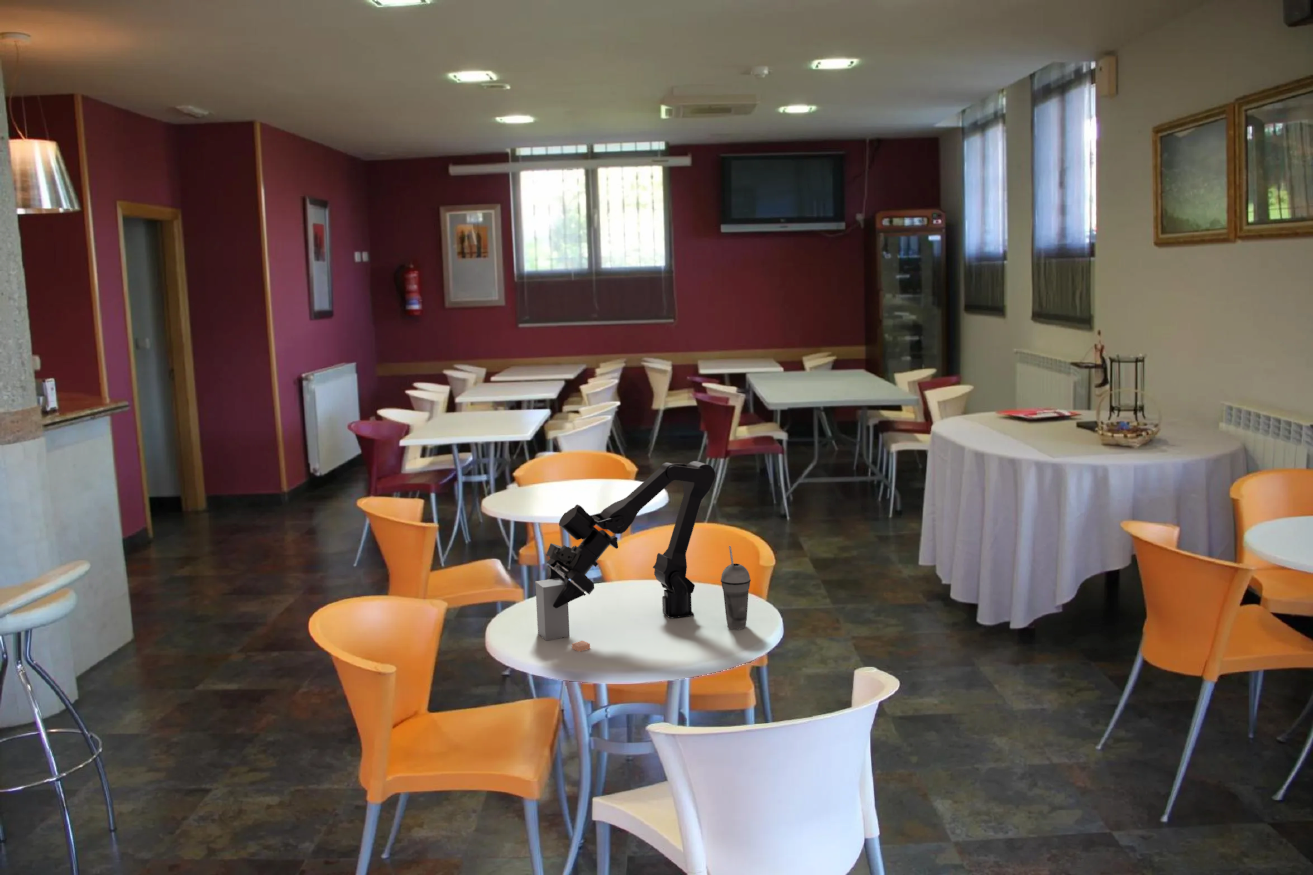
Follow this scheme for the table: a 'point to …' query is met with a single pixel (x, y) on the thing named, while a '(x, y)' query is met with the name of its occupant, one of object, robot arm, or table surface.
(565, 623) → the smooth gray cuboid
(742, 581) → the beverage cup
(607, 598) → the table surface
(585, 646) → the terracotta block
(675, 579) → the robot arm
